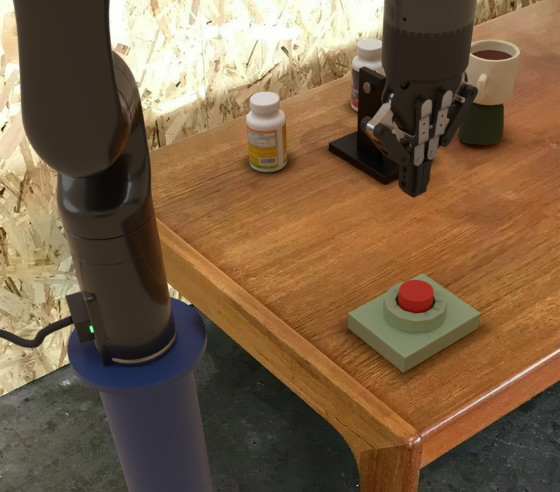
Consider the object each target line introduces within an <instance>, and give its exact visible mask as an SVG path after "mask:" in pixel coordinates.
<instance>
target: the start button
mask: <svg viewBox="0 0 560 492" xmlns="http://www.w3.org/2000/svg"><path fill="white" fill-rule="evenodd" d="M408 280H409V281H408ZM408 280H406V281H403V282H404V283H403V284H402V285H401V286H400V288H399V297H398V304H399V306H400V308H401V309H402V310H404V311H407V312H411V313H424V312H427V311H428V310H430V308H431V307H432V303H433V295H434V290H433V287H432V286H431V285H430V284H429V283H427V282H425V281H422V280H410V279H408Z"/></svg>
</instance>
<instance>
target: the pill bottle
mask: <svg viewBox="0 0 560 492" xmlns="http://www.w3.org/2000/svg"><path fill="white" fill-rule="evenodd" d="M355 51H356V56H354V57H353V59H352V61H351V86H350V87H351V89H350V106H351V108H352V110H354V111H355V112H357V113H358V89H359V68H361V67H364V66H365V67H367V68H369V69H371V70H373V71H375V69H378V68H380V67H382V63H381V54H382V39H379V38H374V37H372V38H371V37H369V38H368V37H367V38H363V39H361V40H358V41H357V42H356V50H355Z"/></svg>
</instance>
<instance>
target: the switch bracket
mask: <svg viewBox="0 0 560 492" xmlns="http://www.w3.org/2000/svg"><path fill="white" fill-rule="evenodd" d="M382 67H383V66H382ZM385 85H386V77H385V76H383V75H381V74H379V73H377V72H375V71H373V70H371V69H369V68H367V67H365V66H364V67H361V68H359V89H358V112H357V124H356V126H357V127H356V128H357V129H356V130H355V131H353V132H351V133H348V134H346V135H344V136H341V137H339V138H337V139H334V140H332V141H329V142H328V151H329V152H330V153H333V154H334V155H335V156H337V157H339V158H340V159H342V160H344V161H345V162H347V163H348V164H350V165H352V166H354V167H355V168H357V169H358V170H360V171H361V172H363V173H365V174H367V175H368V176H369V177H371V178H373V180H376V181H378V182H379V183H381V184H382V185H387V184H389V183H391V182H393V181H396V180H397V179H399V168H400V164H398V163H396V162H394V161H393V160H391V159H389V158H387V157H386V156H384V155H383V154H382V152H381V151H380V150H379V149H378V148H377V147H376V145H375V144H374V143H373V142H372V141H371V140H370V138H369V137H368V136H367V135H366V134H365V132H364V131H363V130H362V129H361V127H360V124H361V121H362V119H363V118H364V117H366V116H368V117H370V118H372V119H373V117H374V116H375V114H376V113H377V112H378V110H379V109H380V108H381V106H382V101H381V96H382V93H383V90H384V88H385ZM392 123H393V119H392ZM394 136H395V137H396V135H395V134H394ZM396 138H397V137H396ZM433 162H434V158H433V159H432V161H431V164H432V163H433Z"/></svg>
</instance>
